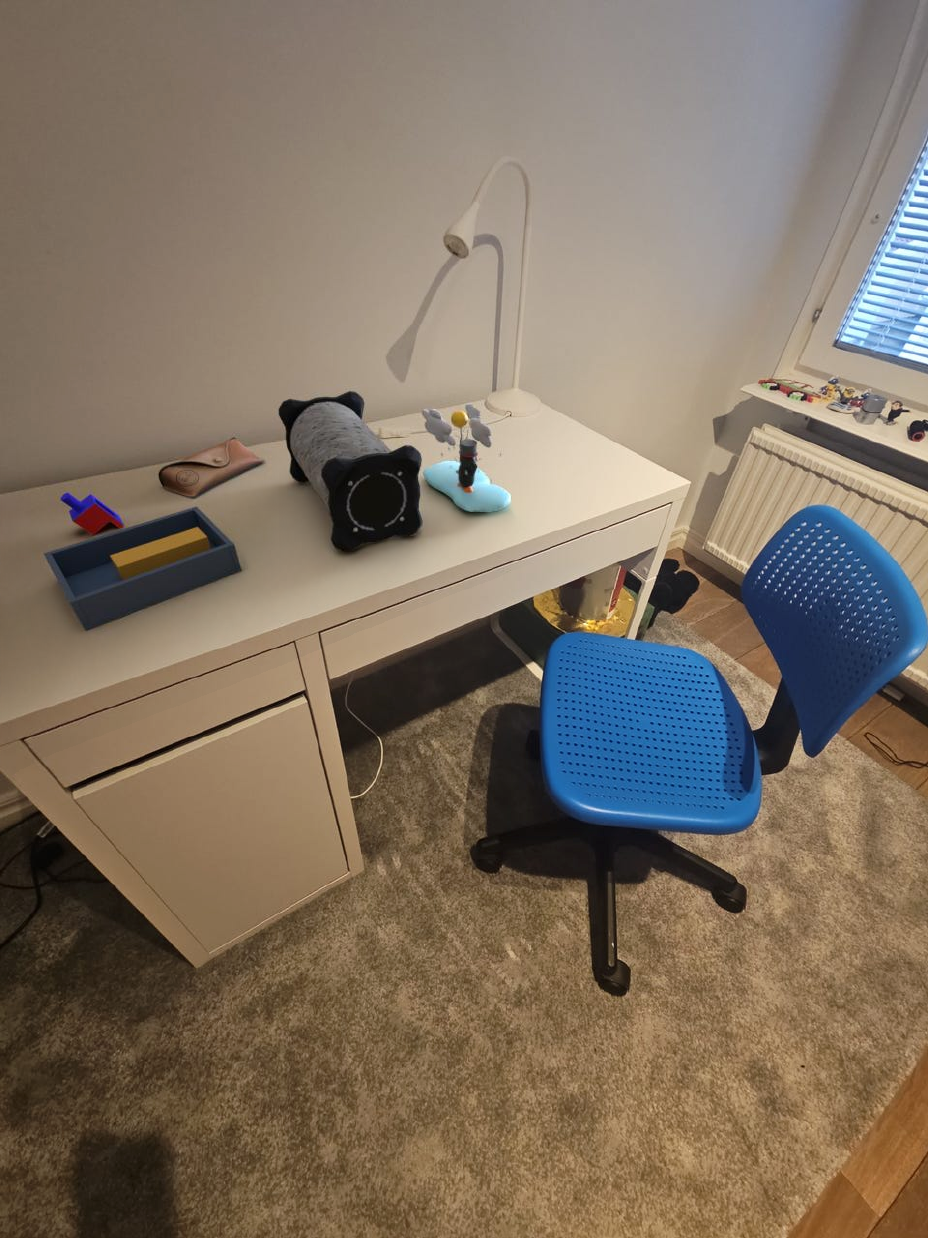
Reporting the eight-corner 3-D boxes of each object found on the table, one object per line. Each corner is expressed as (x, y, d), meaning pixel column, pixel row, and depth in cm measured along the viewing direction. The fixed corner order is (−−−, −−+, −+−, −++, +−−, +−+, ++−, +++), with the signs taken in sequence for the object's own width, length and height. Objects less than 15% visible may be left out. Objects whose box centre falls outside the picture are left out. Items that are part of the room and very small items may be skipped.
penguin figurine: (519, 509, 95) (529, 424, 85) (467, 524, 90) (471, 436, 80) (462, 464, 108) (465, 386, 98) (414, 475, 103) (412, 394, 93)
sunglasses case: (194, 497, 93) (169, 461, 90) (176, 507, 97) (152, 473, 95) (268, 459, 105) (248, 426, 103) (249, 469, 110) (230, 438, 107)
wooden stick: (117, 567, 72) (207, 536, 78) (109, 555, 73) (197, 526, 80) (127, 587, 74) (213, 556, 80) (119, 575, 76) (204, 546, 82)
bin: (85, 631, 68) (69, 602, 65) (58, 580, 75) (43, 553, 72) (242, 570, 79) (234, 544, 76) (205, 531, 86) (196, 505, 83)
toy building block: (98, 532, 88) (51, 499, 81) (119, 515, 88) (74, 480, 82) (102, 542, 86) (54, 508, 79) (123, 524, 86) (78, 490, 80)
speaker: (366, 465, 106) (359, 386, 96) (427, 537, 87) (426, 448, 77) (289, 479, 100) (273, 397, 90) (337, 559, 81) (323, 466, 72)
